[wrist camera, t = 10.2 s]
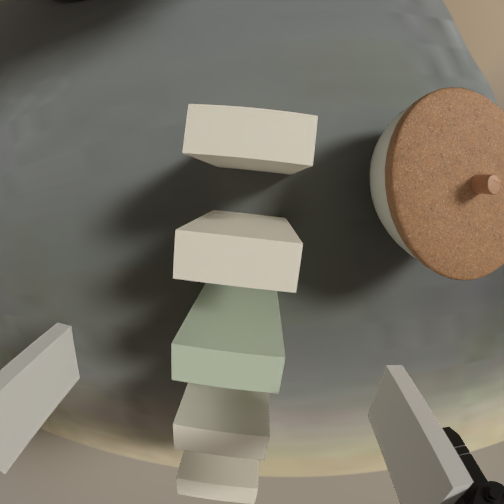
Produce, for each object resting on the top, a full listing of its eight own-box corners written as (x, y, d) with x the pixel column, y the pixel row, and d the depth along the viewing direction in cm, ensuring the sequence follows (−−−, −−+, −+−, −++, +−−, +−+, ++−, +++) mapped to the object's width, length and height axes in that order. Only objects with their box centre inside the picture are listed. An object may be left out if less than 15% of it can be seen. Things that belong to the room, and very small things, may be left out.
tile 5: (201, 390, 25) (176, 477, 16) (260, 397, 25) (257, 488, 15) (200, 407, 26) (177, 493, 16) (257, 414, 26) (254, 503, 16)
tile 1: (220, 138, 21) (188, 104, 11) (293, 146, 21) (317, 115, 11) (217, 167, 22) (182, 153, 12) (290, 174, 22) (312, 165, 12)
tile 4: (203, 339, 24) (172, 424, 14) (268, 347, 24) (269, 436, 14) (202, 361, 25) (174, 448, 15) (264, 368, 25) (264, 460, 15)
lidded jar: (452, 265, 22) (525, 303, 13) (334, 234, 22) (379, 267, 13) (477, 140, 20) (556, 130, 11) (364, 92, 20) (419, 45, 11)
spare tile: (207, 279, 23) (171, 343, 13) (276, 287, 23) (285, 357, 13) (206, 304, 24) (171, 379, 14) (273, 312, 24) (278, 393, 14)
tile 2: (213, 209, 22) (175, 229, 12) (285, 217, 22) (303, 243, 12) (210, 238, 23) (172, 278, 13) (281, 246, 23) (295, 292, 13)
